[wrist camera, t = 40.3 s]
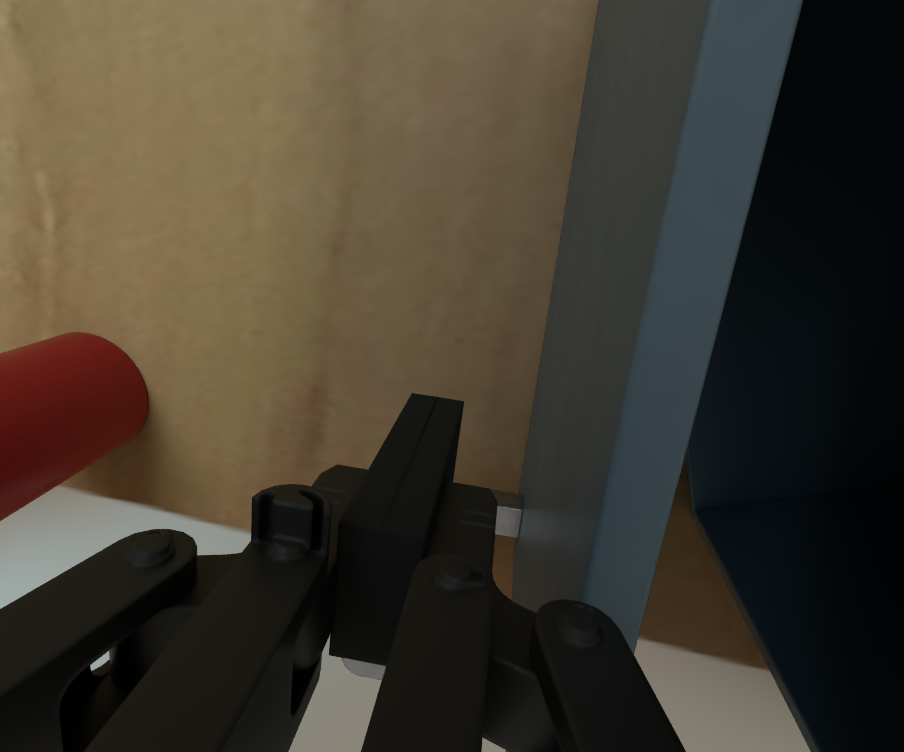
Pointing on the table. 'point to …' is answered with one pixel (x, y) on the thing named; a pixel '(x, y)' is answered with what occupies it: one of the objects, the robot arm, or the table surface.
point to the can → (63, 412)
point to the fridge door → (638, 291)
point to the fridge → (818, 387)
